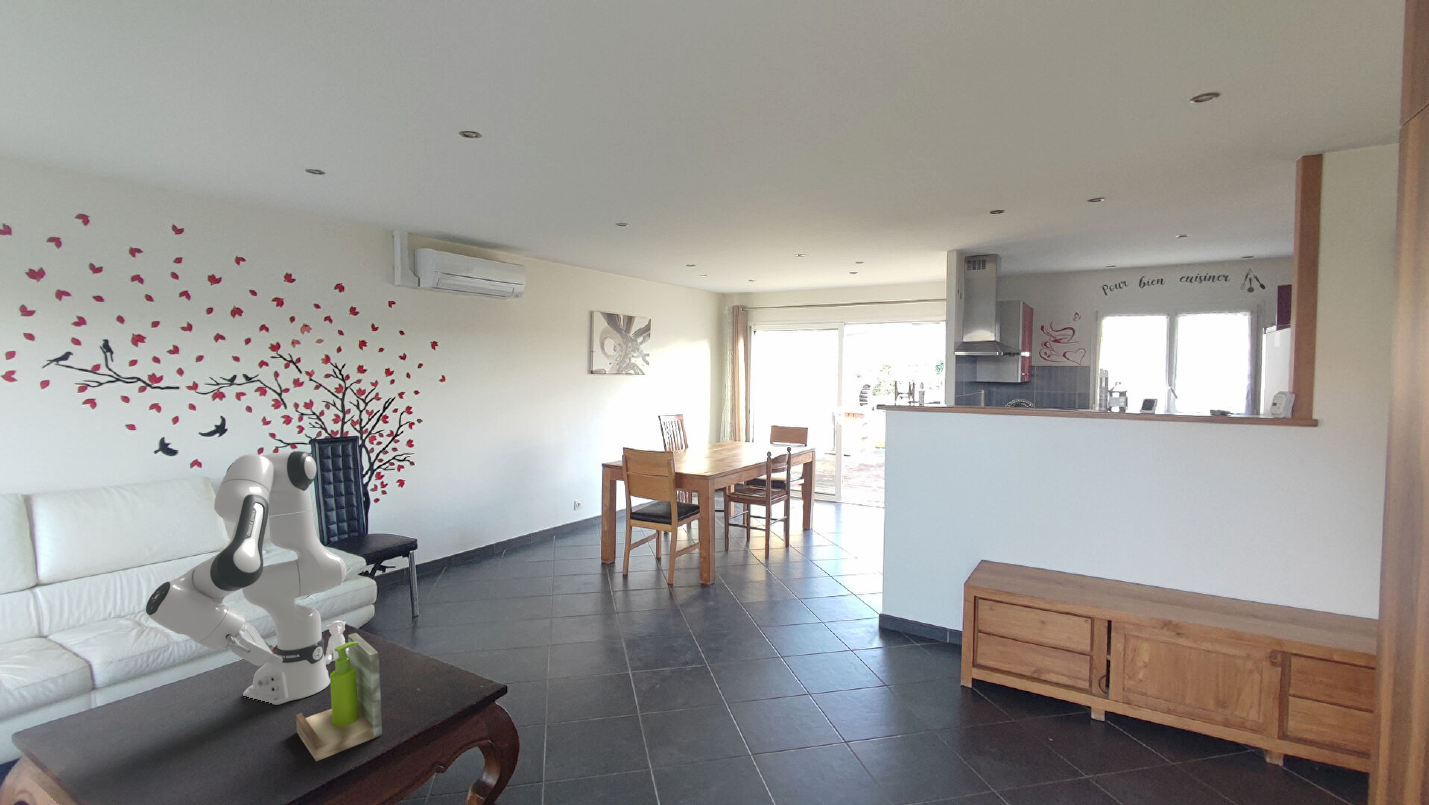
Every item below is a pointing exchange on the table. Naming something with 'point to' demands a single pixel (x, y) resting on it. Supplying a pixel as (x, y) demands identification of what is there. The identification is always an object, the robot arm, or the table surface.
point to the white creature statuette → (335, 641)
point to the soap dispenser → (344, 689)
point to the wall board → (332, 739)
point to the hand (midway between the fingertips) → (275, 655)
